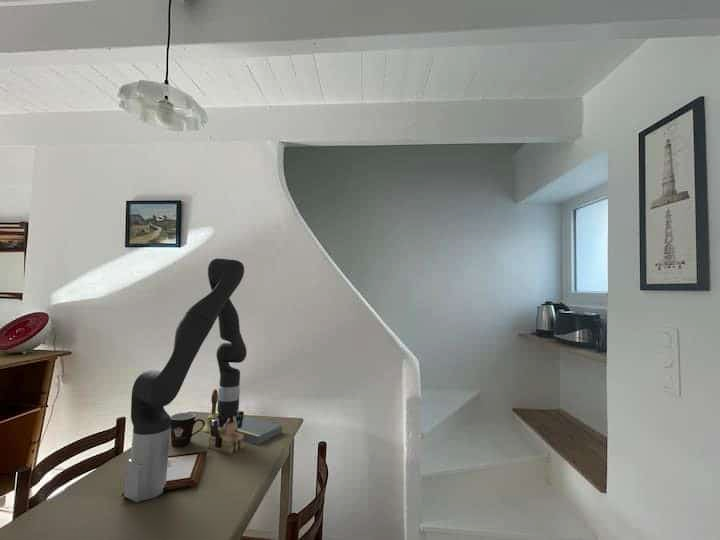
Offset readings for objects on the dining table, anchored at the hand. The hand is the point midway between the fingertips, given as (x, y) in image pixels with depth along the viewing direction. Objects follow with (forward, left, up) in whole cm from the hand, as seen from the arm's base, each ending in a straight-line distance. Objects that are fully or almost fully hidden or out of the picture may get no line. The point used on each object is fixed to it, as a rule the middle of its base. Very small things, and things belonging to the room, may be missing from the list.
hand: (226, 444), depth 130 cm
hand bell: (+10, +19, -1) cm, 22 cm away
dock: (+15, +1, -1) cm, 15 cm away
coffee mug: (-6, +15, -1) cm, 16 cm away
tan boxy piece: (0, 0, -1) cm, 1 cm away
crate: (0, 0, +4) cm, 4 cm away
